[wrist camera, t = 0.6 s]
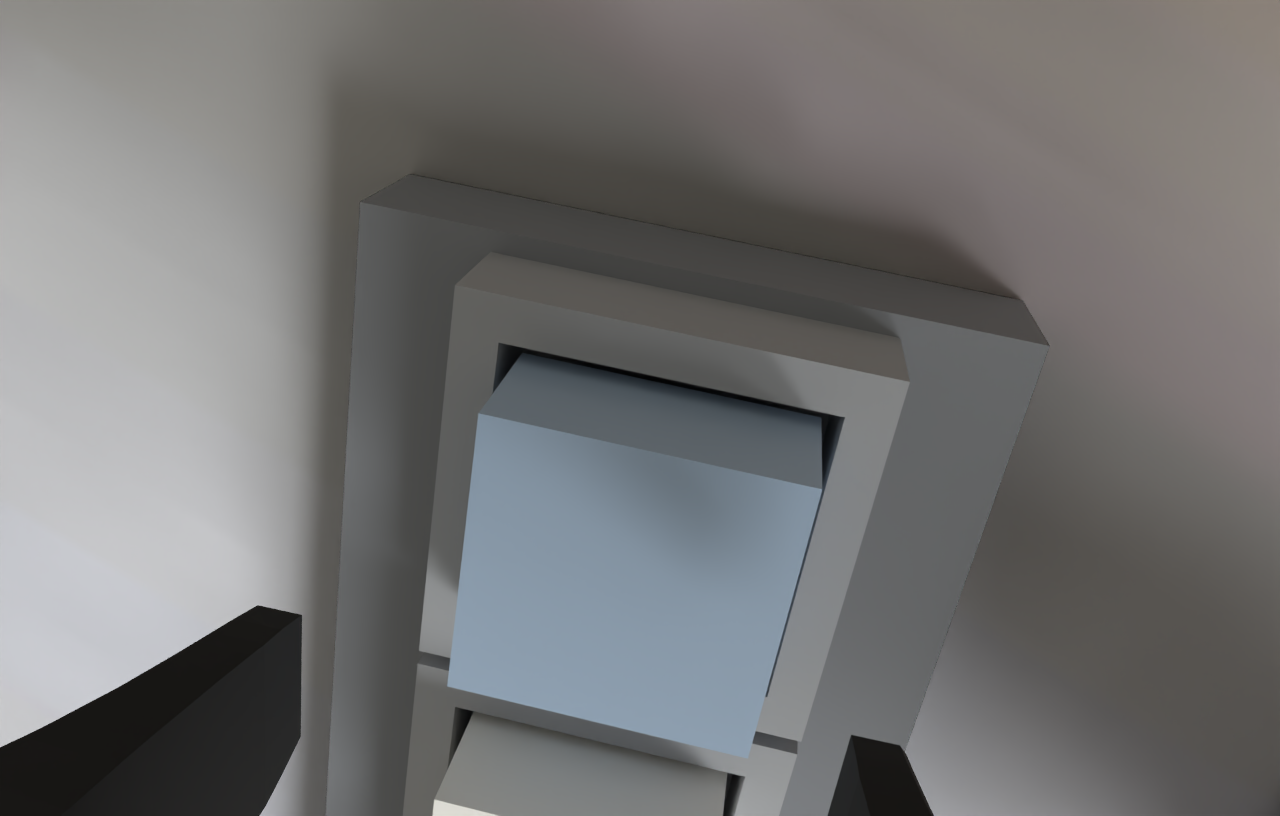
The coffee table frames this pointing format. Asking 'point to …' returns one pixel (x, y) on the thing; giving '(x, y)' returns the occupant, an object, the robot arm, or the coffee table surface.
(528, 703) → the blue key
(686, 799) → the white key
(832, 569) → the key panel
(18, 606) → the coffee table surface
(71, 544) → the coffee table surface
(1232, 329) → the coffee table surface
